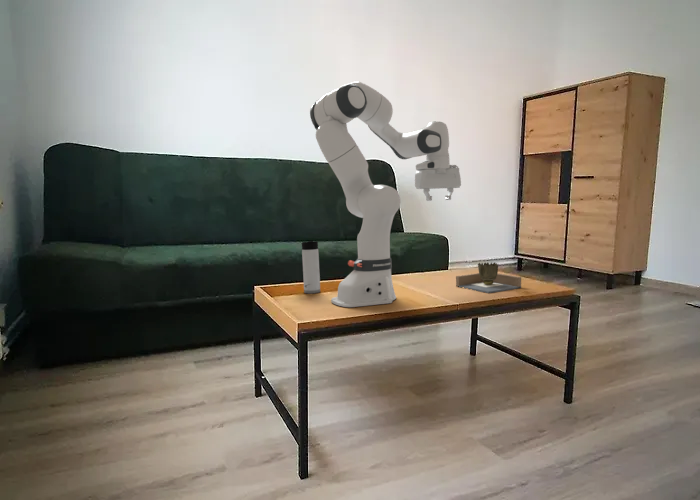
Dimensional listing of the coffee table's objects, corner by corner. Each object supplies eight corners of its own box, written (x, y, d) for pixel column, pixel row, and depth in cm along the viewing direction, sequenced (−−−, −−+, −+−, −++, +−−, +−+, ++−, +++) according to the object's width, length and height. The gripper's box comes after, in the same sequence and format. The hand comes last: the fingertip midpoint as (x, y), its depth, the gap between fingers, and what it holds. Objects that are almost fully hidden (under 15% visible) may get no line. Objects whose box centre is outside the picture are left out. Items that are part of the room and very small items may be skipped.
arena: (488, 293, 160) (488, 282, 160) (456, 286, 175) (456, 276, 175) (521, 287, 167) (521, 277, 167) (487, 281, 182) (487, 271, 182)
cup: (500, 285, 169) (500, 264, 168) (480, 286, 169) (479, 265, 168) (496, 282, 176) (495, 261, 175) (476, 282, 177) (476, 262, 176)
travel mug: (305, 294, 172) (302, 241, 170) (303, 291, 179) (300, 240, 177) (321, 293, 173) (319, 240, 171) (319, 290, 180) (316, 239, 178)
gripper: (453, 165, 186) (454, 199, 188) (412, 165, 177) (413, 201, 179) (464, 164, 181) (464, 199, 182) (421, 163, 172) (422, 201, 173)
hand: (438, 200), depth 180 cm, fingers open, 8 cm apart
